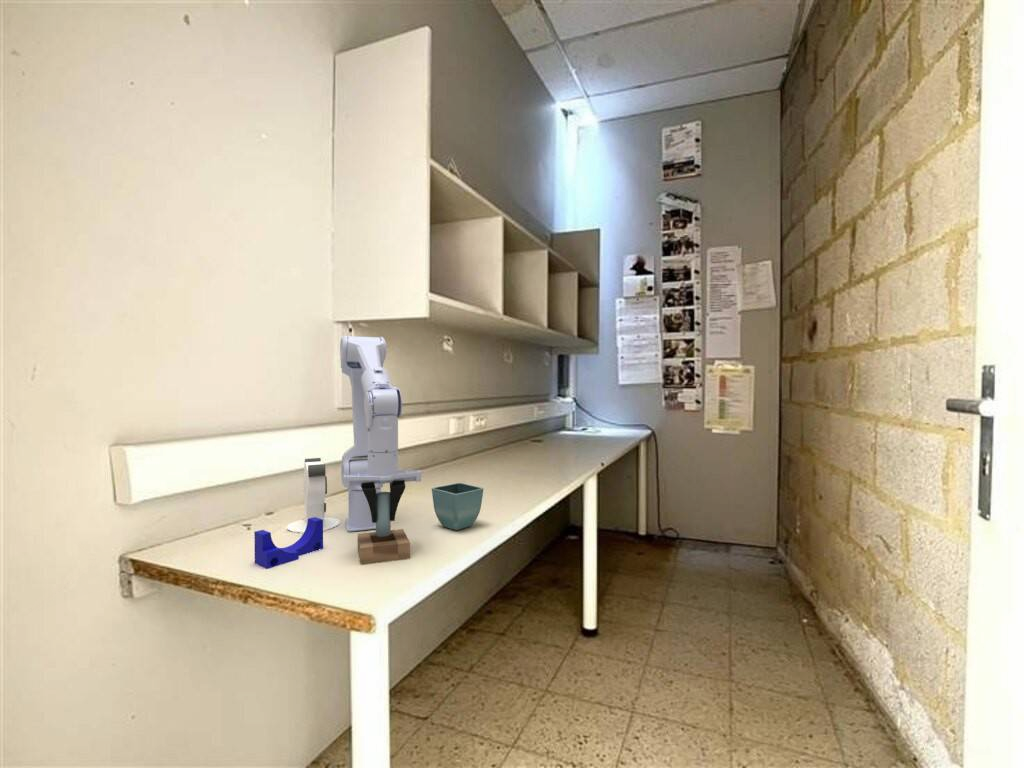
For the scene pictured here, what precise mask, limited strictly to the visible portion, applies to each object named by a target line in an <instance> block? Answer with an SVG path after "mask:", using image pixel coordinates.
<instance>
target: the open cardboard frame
mask: <svg viewBox="0 0 1024 768" xmlns="http://www.w3.org/2000/svg"><path fill="white" fill-rule="evenodd" d="M357 554H358V558H359V559H360V560H359V563H360V564H362V565H367V564H368V565H369V563H370V564H376V562H378V563H385V562H392V560H393V561H400V560H399V559H401V560H407V559H406V558H409V559H411V542H410V540H409V537H408V535H407V533H406V531H405V529H404V528H400V529H391V534H390V535H388V536H384V537H379V536H376V531H372V532H371V531H370V532H363V533H361V532H360V533H357Z"/></svg>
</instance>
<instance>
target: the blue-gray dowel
mask: <svg viewBox="0 0 1024 768" xmlns="http://www.w3.org/2000/svg"><path fill="white" fill-rule="evenodd" d="M391 522H392V521H391V493H390V491H381V492H378V493H376V529H375V532H376V536H379V537H384V536H388V535H390V534H391V530H392V529H391V527H392V525H391Z"/></svg>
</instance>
